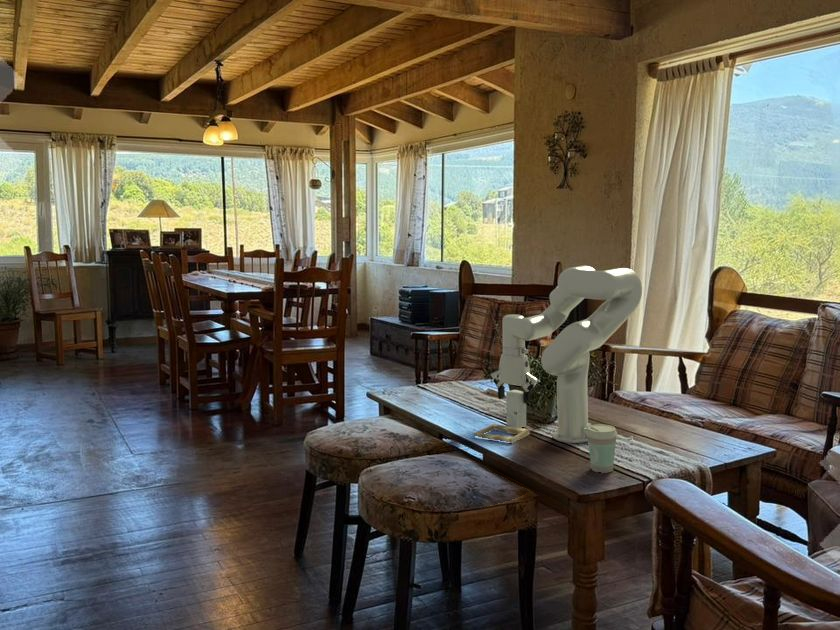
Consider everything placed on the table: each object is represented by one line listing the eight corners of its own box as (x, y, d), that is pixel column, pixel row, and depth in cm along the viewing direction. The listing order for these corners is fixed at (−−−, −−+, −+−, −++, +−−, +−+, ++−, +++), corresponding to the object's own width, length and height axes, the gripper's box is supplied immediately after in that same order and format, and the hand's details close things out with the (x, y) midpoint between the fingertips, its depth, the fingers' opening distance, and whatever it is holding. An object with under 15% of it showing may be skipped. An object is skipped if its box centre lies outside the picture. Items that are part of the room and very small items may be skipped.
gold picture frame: (529, 434, 238) (529, 429, 238) (512, 444, 228) (511, 439, 228) (492, 428, 246) (492, 424, 246) (474, 438, 237) (474, 433, 236)
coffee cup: (587, 463, 208) (586, 423, 206) (618, 465, 205) (617, 424, 204) (585, 474, 200) (584, 432, 198) (617, 475, 197) (616, 433, 196)
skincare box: (506, 425, 249) (504, 391, 247) (516, 423, 251) (515, 389, 250) (517, 429, 244) (516, 394, 242) (527, 427, 246) (526, 392, 244)
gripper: (542, 351, 242) (541, 401, 245) (497, 346, 252) (497, 394, 255) (531, 356, 236) (531, 406, 239) (486, 350, 246) (486, 399, 249)
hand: (513, 400), depth 247 cm, fingers open, 9 cm apart
